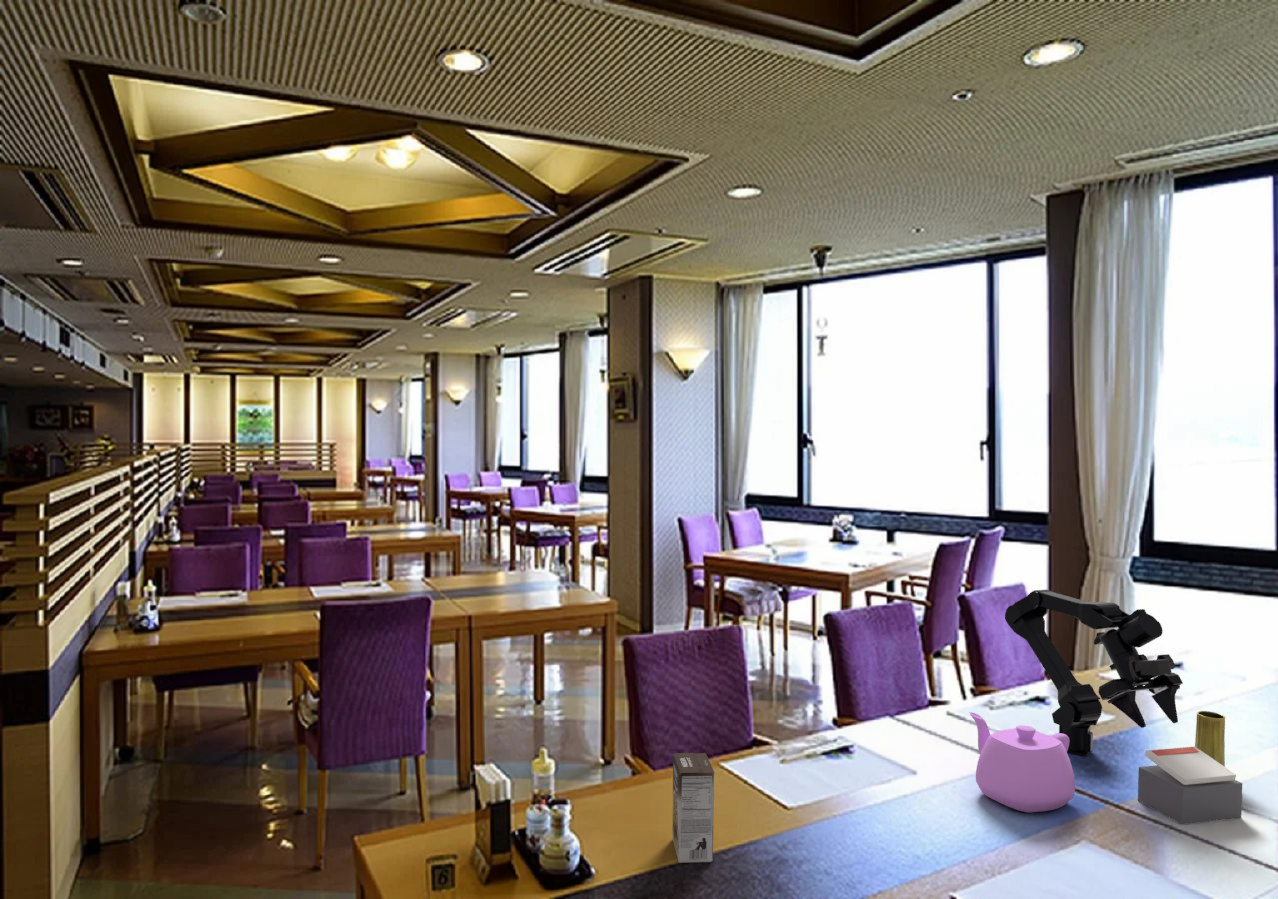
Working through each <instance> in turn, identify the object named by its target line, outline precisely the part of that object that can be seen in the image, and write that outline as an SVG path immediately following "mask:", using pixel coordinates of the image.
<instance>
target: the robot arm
mask: <svg viewBox="0 0 1278 899" xmlns="http://www.w3.org/2000/svg"><path fill="white" fill-rule="evenodd" d="M1049 610H1051V611H1054V612H1057V613H1060V614H1064V615H1067V616H1069V617H1073V618H1076V619H1077V620H1079V622H1080V623H1081V624H1082V625H1084V626H1086V627H1088V628H1090V629H1092V630H1105V629H1109V630H1107V631H1102V632H1096V633H1095V634H1096V636H1095V638H1094V640H1093V645H1096V646H1097V645H1103V647H1104V649H1105V651H1106V652H1107V653H1106V654H1107V655H1108V658H1110V661H1111V662H1112V664H1110V665H1109V668H1110V670H1111V671H1115V670H1116V672H1117V674H1118V677H1119V678H1116V679H1115V678H1113V679H1112V680H1110V681H1108V682H1106V683H1103V684H1101V685H1100V686H1099V687H1098V695H1099V696H1098V695H1097V693H1096V692H1095V690H1094V688H1093V686H1092V684H1090V683H1086V684H1084V683H1083V684H1082V683H1081V682H1079V681H1078V680H1077V679H1076V677H1075V675H1074V674H1073V673H1072V671H1071V670H1070V668H1069V667H1068V664H1066V662H1065V660H1064V659H1063V657H1062V656H1061V653H1060V652H1059V651H1058V649H1057V648H1056V646H1055V645H1054V643H1053V642H1052V640H1051V639H1050V638H1049V637H1050V636H1048V634H1047V633H1046V621H1045V618H1044V617H1045V616H1046V615H1047V614H1048V613H1049ZM1004 618H1005V622H1006V624H1007V625H1008V626H1009V628H1011V630H1012V631H1013V632H1014V633H1015V634H1016V635H1018V636H1019V637H1021V638H1022V639H1024V640H1025V641H1026V643H1027V644H1028V645H1029V647H1030V648H1031V650H1032V652H1033V653H1034V655H1035V657H1037V659H1038V661H1039V663H1040V664H1041V666H1042V668H1043V669H1044V671H1045V672H1046V674H1047V675H1048V677H1049V679H1050V681H1051V682H1052V684H1053V685H1054V687H1055V688H1056V690H1057V703H1058V705H1059V708H1056V710H1054V711H1053V712H1052V713H1051V717H1052V720H1053V723H1054V724H1056V725H1058V733H1062V734H1065V735H1067V736H1068V737H1069V747H1068V751H1067V753H1070V754H1075V755H1078V756H1079V755H1080V756H1083V757H1087V756H1088V755H1089V753H1091V752H1092V750H1093V747H1094V746H1093V740H1094V732H1093V731H1091V726H1097V724H1098V722H1099V719H1100V717H1102V711H1103V710H1102V709H1103V706H1102V702H1101V701H1100V700H1102V701H1107V703H1108V704H1112V705H1113V706H1114V707H1115V708H1117V709H1118V710H1119V711H1120V712H1122V713H1123V714H1124V715H1126V716H1127V717H1128V718H1129V719H1130V720H1132V722H1134V723H1135V724H1136V725H1137V726H1138V727H1140V728H1141V729H1143V728H1145V727H1147V724H1146V722H1145V719H1144V717H1143V715H1142V713H1141V710H1140V708H1139V706H1138V704H1137V702H1136V696H1137V691H1144V690H1145V691H1147V690H1148V691H1149V692H1151V694H1152V695H1151V698H1152V699H1153V700H1154V701H1155V703H1156V705H1158V706H1159V708H1160V709H1161V711H1162V712H1163V713H1164V714H1165V715H1166V717H1167V718H1168V719H1169V721H1171V722H1172V723H1173V724H1177V723H1178V722H1179V720H1178V719H1179V718H1178V712H1177V707H1176V694H1177V691H1178V690H1179V689H1180V688H1181V685H1183V684H1184V682H1183V680H1182V679H1181V677H1180V675H1179V674H1177V673H1175V672H1172V670H1174V669H1175V668H1176V663H1175V662H1174V659H1173V658H1172V656H1171V655H1170V654H1169V653H1167V654H1158V655H1157V657H1156V659H1148V657H1147V656H1146V655H1145V654H1139V651H1138V650H1137V648H1142V647H1143V646H1145V645H1147V644H1149V643H1151V642H1153V641H1154V640H1156V639H1158V638H1160V637H1161V636H1162V635H1163V632H1164V630H1163V626H1162V625H1161V623H1160V622H1159V621H1158V620H1157V619H1156V618H1155V617H1154V616H1153V615H1151V614H1149V613H1147V611H1146V610H1145V608H1144V609H1143V608H1141V609H1140V608H1139V609H1135V610H1134V611H1132V613H1131V614H1129V613H1127V612H1126V611H1124V610H1122V609H1121V608H1120V606H1119V604H1117V603H1115V602H1107V601H1086V600H1082V599H1078V598H1075V597H1072V596H1068V595H1064V594H1060V593H1058V592H1054V591H1052V590H1050V589H1036V590H1032V591H1031V592H1030V593H1028V595H1026V596H1024V597H1022V598H1021V599H1019V600H1018V601H1016V602H1014V603H1013V604H1012V605H1009V606H1007V608H1006V610H1005V614H1004ZM1116 628H1118V629H1116Z"/></svg>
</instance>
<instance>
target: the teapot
mask: <svg viewBox="0 0 1278 899" xmlns="http://www.w3.org/2000/svg"><path fill="white" fill-rule="evenodd" d="M968 713H969V715H970V716H971V718H972V719H973V721H974V722H975V724H976V729H977V748H978V749H977V750H978V752H979V757H978V760H977V764H976V769H975V781H976V784H977V786H978V787H979V789H980V792H981V793H982V794H983V795H984V796H987V797H988V798H990V799H991V800H994V801H996V802H998V803H1000V804H1001V805H1004V806H1006V807H1008V808H1010V809H1014V810H1017V811H1020V812H1024V813H1029V814H1030V813H1031V814H1032V813H1038V812H1039V813H1040V812H1041V813H1042V812H1047V811H1052V810H1053V811H1054V810H1056V809H1060V808H1061V807H1064V806H1065V805H1067V804H1068V803H1069V802H1070V801H1071V799H1072V798H1073V796H1074V794H1075V791H1076V782H1075V781H1076V780H1075V773H1074V770H1073V767H1072V766H1073V765H1072V763H1071V759H1070V757H1069V755H1068V752H1067V751H1068V747H1069V737H1068V736H1067V735H1065V734H1062V733H1059V732H1058V733H1054V734H1050V735H1048V734H1046V733H1043V732H1040V731H1038V730H1036V728H1034V727H1032V726H1030V725H1022V724H1021V725H1017V726H1016V727H1015V728H1008V729H1007V728H1006V729H1001V730H998V731H995V732H993V733H990V730H989V726H988V724H987V721H986V720H985V719H984V718H983V717H982V716H981V715H980V714H977V713H975V712H971V711H970V712H968Z"/></svg>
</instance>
